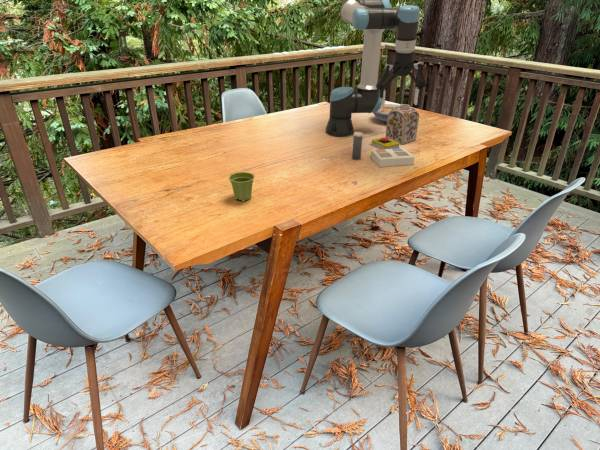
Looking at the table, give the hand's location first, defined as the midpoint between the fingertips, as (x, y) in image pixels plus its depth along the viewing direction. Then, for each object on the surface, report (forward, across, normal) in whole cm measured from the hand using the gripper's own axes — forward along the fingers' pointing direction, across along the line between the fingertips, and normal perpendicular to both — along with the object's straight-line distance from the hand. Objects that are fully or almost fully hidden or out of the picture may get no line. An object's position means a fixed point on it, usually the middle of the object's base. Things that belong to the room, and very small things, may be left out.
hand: (398, 104), depth 173 cm
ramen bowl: (+33, +13, +64) cm, 73 cm away
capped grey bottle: (+26, -16, +6) cm, 31 cm away
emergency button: (+29, +1, +20) cm, 36 cm away
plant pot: (+21, -65, -33) cm, 76 cm away
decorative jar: (+30, +11, +31) cm, 45 cm away
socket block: (+27, 0, +2) cm, 27 cm away
